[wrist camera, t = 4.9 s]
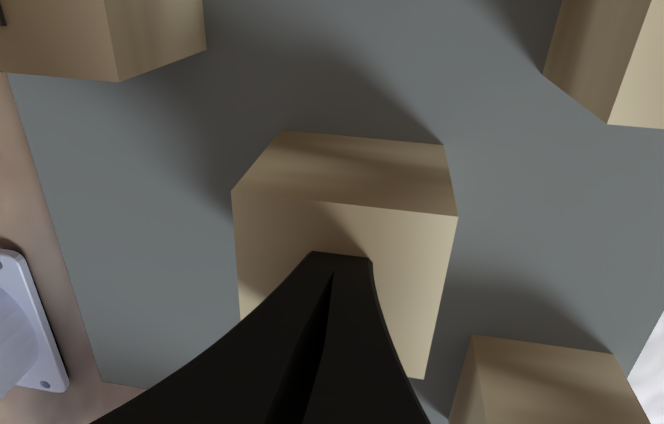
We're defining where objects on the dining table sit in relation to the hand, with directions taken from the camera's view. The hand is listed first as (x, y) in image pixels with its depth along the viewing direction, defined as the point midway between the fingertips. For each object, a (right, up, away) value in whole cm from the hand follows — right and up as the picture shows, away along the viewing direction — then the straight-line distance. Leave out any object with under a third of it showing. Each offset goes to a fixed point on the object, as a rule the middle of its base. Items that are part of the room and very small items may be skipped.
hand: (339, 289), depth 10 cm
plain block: (+1, +2, +3) cm, 4 cm away
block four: (+7, -5, +6) cm, 10 cm away
